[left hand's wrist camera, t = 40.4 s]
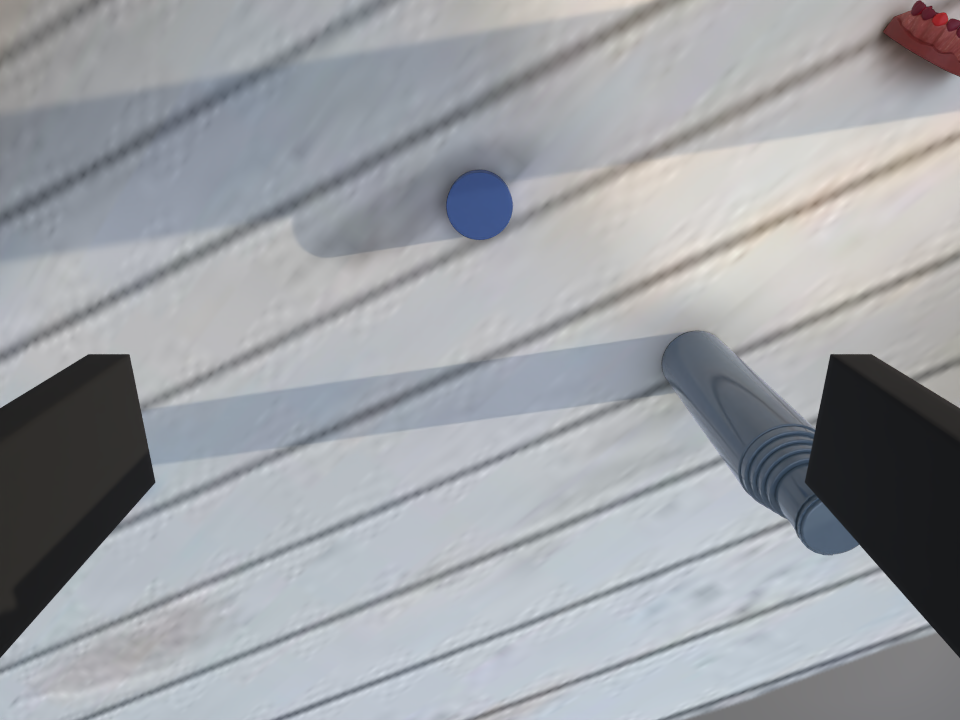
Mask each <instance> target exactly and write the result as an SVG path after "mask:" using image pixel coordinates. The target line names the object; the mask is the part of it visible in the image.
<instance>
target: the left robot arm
mask: <svg viewBox="0 0 960 720" xmlns="http://www.w3.org/2000/svg"><path fill="white" fill-rule="evenodd" d="M154 483H155V478H154V473H153V468H152V463H151V458H150V454H149V449H148V444H147V439H146V434H145V429H144V424H143V419H142V414H141V409H140V404H139V399H138V394H137V389H136V384H135V380H134V375H133V370H132V365H131V360H130V355H129V354H88V355H87V356H85V357H83V358H82V359H80V360H79V361H77V362H75V363H74V364H72V365H70V366H69V367H67V368H65V369H64V370H62V371H61V372H59V373H57V374H56V375H54V376H52V377H51V378H49V379H47V380H46V381H44V382H42V383H41V384H39V385H38V386H36V387H34V388H33V389H31V390H29V391H28V392H26V393H24V394H23V395H21V396H20V397H18V398H16V399H15V400H13V401H11V402H10V403H8V404H6V405H5V406H3V407H2V408H0V658H1V656H2V655H3V654H4V653H5V652H6V651H7V650H8V649H9V647H10V646H11V645H12V644H13V643H14V642H15V641H16V639H17V638H18V637H19V636H20V635H21V634H22V633H23V632H24V630H25V629H26V628H27V627H28V626H29V625H30V624H31V623H32V621H33V620H34V619H35V618H36V617H37V616H38V615H39V613H40V612H41V611H42V610H43V609H44V608H45V607H46V606H47V604H48V603H49V602H50V601H51V600H52V599H53V598H54V596H55V595H56V594H57V593H58V592H59V591H60V590H61V589H62V587H63V586H64V585H65V584H66V583H67V582H68V581H69V580H70V578H71V577H72V576H73V575H74V574H75V573H76V572H77V570H78V569H79V568H80V567H81V566H82V565H83V564H84V563H85V561H86V560H87V559H88V558H89V557H90V556H91V555H92V554H93V552H94V551H95V550H96V549H97V548H98V547H99V546H100V544H101V543H102V542H103V541H104V540H105V539H106V538H107V537H108V535H109V534H110V533H111V532H112V531H113V530H114V529H115V528H116V526H117V525H118V524H119V523H120V522H121V521H122V520H123V518H124V517H125V516H126V515H127V514H128V513H129V512H130V511H131V509H132V508H133V507H134V506H135V505H136V504H137V503H138V502H139V500H140V499H141V498H142V497H143V496H144V495H145V494H146V492H147V491H148V490H149V489H150V488H151V487H152V486H153V485H154ZM805 483H806V485H807V486H808V487H809V488H810V489H811V490H812V491H813V492H814V494H815V495H816V496H817V497H818V498H819V499H820V500H821V502H822V503H823V504H824V505H825V506H826V507H827V508H828V509H829V511H830V512H831V513H832V514H833V515H834V516H835V517H836V518H837V520H838V521H839V522H840V523H841V524H842V525H843V526H844V528H845V529H846V530H847V531H848V532H849V533H850V534H851V535H852V537H853V538H854V539H855V540H856V541H857V542H858V543H859V544H860V546H861V547H862V548H863V549H864V550H865V551H866V552H867V554H868V555H869V556H870V557H871V558H872V559H873V560H874V561H875V563H876V564H877V565H878V566H879V567H880V568H881V569H882V570H883V572H884V573H885V574H886V575H887V576H888V577H889V578H890V580H891V581H892V582H893V583H894V584H895V585H896V586H897V587H898V589H899V590H900V591H901V592H902V593H903V594H904V595H905V597H906V598H907V599H908V600H909V601H910V602H911V603H912V604H913V606H914V607H915V608H916V609H917V610H918V611H919V612H920V613H921V615H922V616H923V617H924V618H925V619H926V620H927V621H928V623H929V624H930V625H931V626H932V627H933V628H934V629H935V630H936V632H937V633H938V634H939V635H940V636H941V637H942V638H943V639H944V641H945V642H946V643H947V644H948V645H949V646H950V647H951V649H952V650H953V651H954V652H955V653H956V654H957V655H958V656H959V658H960V408H958V407H957V406H955V405H954V404H952V403H950V402H949V401H947V400H945V399H944V398H942V397H940V396H939V395H937V394H936V393H934V392H932V391H931V390H929V389H927V388H926V387H924V386H922V385H921V384H919V383H918V382H916V381H914V380H913V379H911V378H909V377H908V376H906V375H904V374H903V373H901V372H899V371H898V370H896V369H895V368H893V367H891V366H890V365H888V364H886V363H885V362H883V361H881V360H880V359H878V358H877V357H875V356H873V355H872V354H831V355H830V360H829V365H828V370H827V375H826V380H825V384H824V389H823V394H822V399H821V404H820V409H819V414H818V419H817V424H816V429H815V434H814V439H813V444H812V449H811V454H810V458H809V463H808V468H807V473H806V478H805Z"/></svg>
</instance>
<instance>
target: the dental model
mask: <svg viewBox="0 0 960 720" xmlns="http://www.w3.org/2000/svg"><path fill="white" fill-rule="evenodd" d="M947 22H948V23H947ZM959 26H960V21H959V20H956V19H950V20H949V21H948V17H947V14H946V13H936V12H935V11H934V10H933V9H932V6H929V7H926V5H925V4H924V3H923V2H922V1H920V0H919V1H917V2H916V3H915V4H914V6H913V7H912V10H911V11H908V12H906V13H903V14H901V15H898V16H895V17H894V18H893V19H892V20H891V22H890V23H889V24H888V26H887V27H886V28H885V30H884V31H883V32H884V33H885V34H886V35H887V36H889V37H890V38H891V39H893V40H894V41H896V42H897V43H899V44H900V45H902V46H903V47H905V48H907V49H908V50H910V51H912V52H913V53H915V54H916V55H918V56H920V57H922V58H924V59H925V60H927V61H929V62H931V63H933V64H934V65H936V66H938V67H940V68H942V69H944V70H946V71H948V72H950V73H952V74H955V75H957V76H959V77H960V27H959ZM958 27H959V28H958Z"/></svg>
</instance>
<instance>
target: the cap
mask: <svg viewBox="0 0 960 720" xmlns="http://www.w3.org/2000/svg"><path fill="white" fill-rule="evenodd" d="M446 208H447V214H448V218H449V220H450V222H451V224H452V225H453V227H454V228H455V229H456V230H457V231H458V232H459V233H460V234H462V235H463V236H465V237H468V238H471V239H475V240H484V239H489V238H492V237H494V236H496V235H497V234H499V233H500V232H501V231H502V230H503V229H504V228H505V227H506V226H507V224H508V222H509V220H510V218H511V215H512V209H513V203H512V197H511V194H510V191H509V189H508V187H507V185H506V184H505V182H504V181H503V180H502V179H501V178H500V177H499V176H497V175H496V174H494V173H492V172H489V171H486V170H473V171H470V172H467V173H465V174H463V175H462V176H460V177H459V178H458V179H457V180H456V181H455V182H454V184H453V185H452V187H451V189H450V192H449V194H448V198H447V205H446Z"/></svg>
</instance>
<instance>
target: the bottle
mask: <svg viewBox="0 0 960 720" xmlns="http://www.w3.org/2000/svg"><path fill="white" fill-rule="evenodd" d="M662 370H663V373H664V376H665V378H666V379H667V381H668V382H669V384H670V385H671V386H672V388H673V389H674V391H675V392H676V393H677V395H678V396H679V398H680V399H681V401H682V402H683V403H684V405H685V406H686V408H687V409H688V410H689V412H690V413H691V415H692V416H693V418H694V419H695V420H696V422H697V423H698V425H699V426H700V427H701V429H702V430H703V432H704V433H705V435H706V436H707V437H708V439H709V440H710V442H711V443H712V444H713V446H714V447H715V449H716V450H717V452H718V453H719V454H720V456H721V457H722V459H723V460H724V461H725V463H726V464H727V466H728V467H729V468H730V470H731V471H732V473H733V474H734V476H735V477H736V478H737V480H738V481H739V483H740V484H741V485H742V487H743V488H744V490H745V491H746V492H747V493H748V494H749V495H750V496H752V498H754V499H755V500H756V501H757V502H758V503H760V504H762V505H764V506H765V507H767V508H769V509H771V510H772V511H773V512H775V513H777V514H779V515H780V516H782V517H784V518H786V519H788V521H789V522H790V523H791V525H792V526H793V527H794V529H795V531H796V534H797V536H798V537H799V538H800V540H801V541H802V542H803V544H804V545H805V546H806V547H807V548H808V549H810V550H812V551H813V552H815V553H819V554H822V555H833V554H840V553H844V552H847V551H849V550H851V549H853V548H855V547H856V546H858V545H859V543H858V542H857V541H856V540H855V539H854V538H853V537H852V535H851V534H850V533H849V532H848V531H847V530H846V529H845V528H844V526H843V525H842V524H841V523H840V522H839V521H838V520H837V518H836V517H835V516H834V515H833V514H832V513H831V512H830V511H829V509H828V508H827V507H826V506H825V505H824V504H823V503H822V502H821V500H820V499H819V498H818V497H817V496H816V495H815V494H814V492H813V491H812V490H811V489H810V488H809V487H808V486H807V485H806V483H805V478H806V473H807V468H808V463H809V458H810V454H811V449H812V444H813V439H814V434H815V428H814V427H813V426H812V425H811V424H810V423H809V422H808V421H807V420H805V419H804V418H803V417H802V416H801V415H800V414H799V413H798V412H797V411H796V410H795V409H794V408H793V407H792V406H790V405H789V404H788V403H787V402H786V401H785V400H784V399H783V398H782V397H781V396H780V395H779V394H778V393H777V392H776V391H774V390H773V389H772V388H771V387H770V386H769V385H768V384H767V383H766V382H765V381H764V380H763V379H762V378H761V377H759V376H758V375H757V374H756V373H755V372H754V371H753V370H752V369H751V368H750V367H749V366H748V365H747V364H746V363H744V362H743V361H742V360H741V359H740V358H739V357H738V356H737V355H736V354H735V353H734V352H733V351H732V350H731V349H729V348H728V347H727V346H726V345H725V344H724V343H723V342H722V341H721V340H720V339H719V338H718V337H716V336H715V335H713V334H711V333H709V332H705V331H691V332H687V333H685V334H682V335H680V336H679V337H677V338H676V339H674V340H673V341H672V342H671V343H670V344H669V346H668V347H667V349H666V350H665V352H664V355H663V359H662Z"/></svg>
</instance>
